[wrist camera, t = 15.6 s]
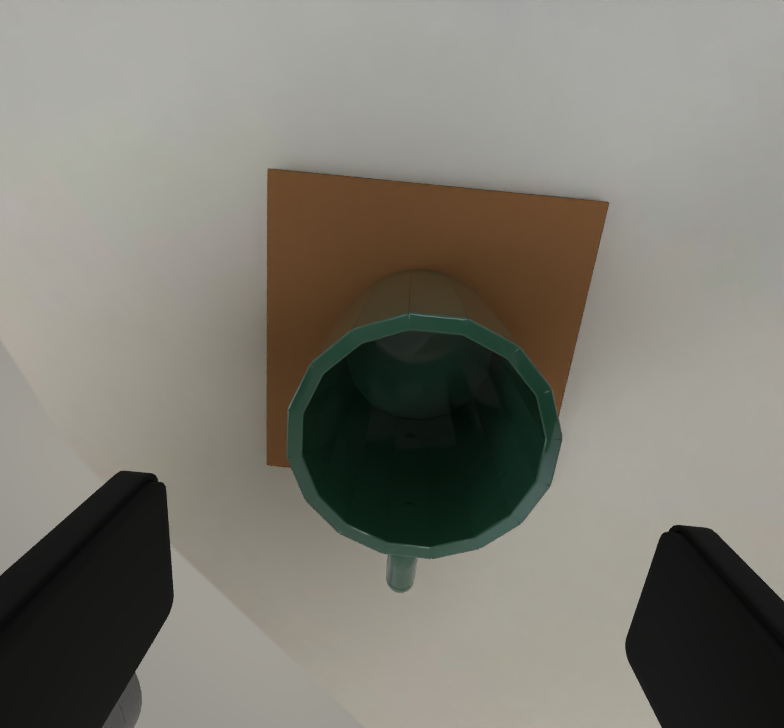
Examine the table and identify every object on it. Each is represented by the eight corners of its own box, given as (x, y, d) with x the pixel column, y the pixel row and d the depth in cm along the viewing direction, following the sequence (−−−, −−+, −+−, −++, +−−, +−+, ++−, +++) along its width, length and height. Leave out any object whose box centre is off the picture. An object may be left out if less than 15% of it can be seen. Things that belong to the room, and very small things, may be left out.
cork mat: (270, 457, 24) (266, 465, 23) (272, 169, 19) (267, 168, 18) (536, 485, 23) (540, 495, 23) (602, 202, 19) (609, 202, 18)
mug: (343, 260, 19) (288, 300, 11) (512, 277, 19) (589, 330, 11) (331, 467, 23) (282, 620, 14) (475, 482, 23) (512, 646, 14)
